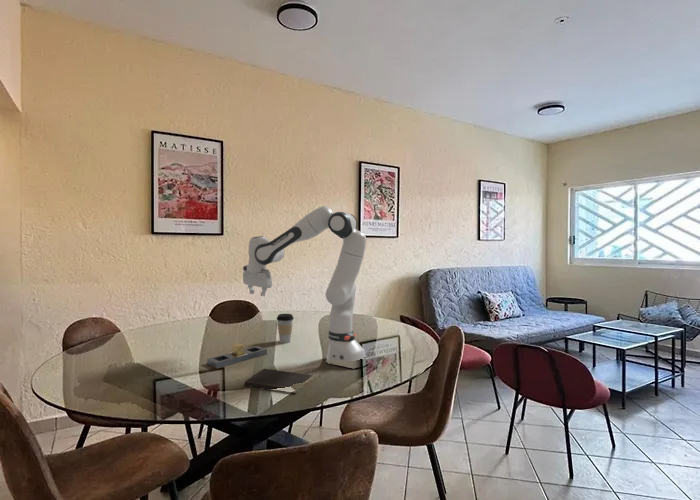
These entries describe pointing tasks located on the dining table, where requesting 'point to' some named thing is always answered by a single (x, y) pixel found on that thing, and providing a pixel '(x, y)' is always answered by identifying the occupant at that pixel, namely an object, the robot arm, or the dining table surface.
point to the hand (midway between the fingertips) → (257, 294)
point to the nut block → (237, 349)
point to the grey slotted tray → (236, 357)
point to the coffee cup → (285, 327)
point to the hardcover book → (275, 379)
